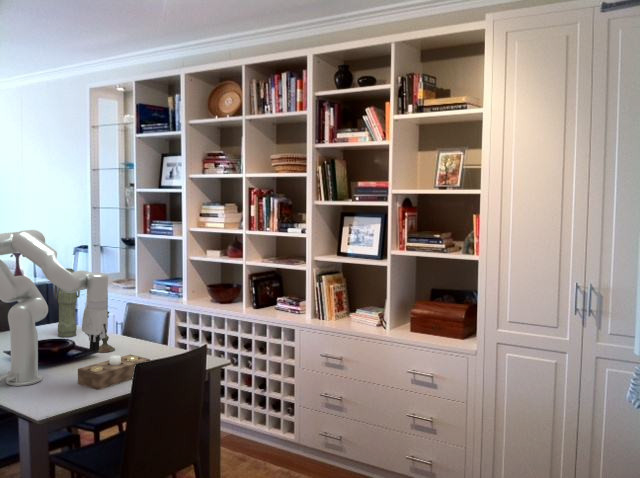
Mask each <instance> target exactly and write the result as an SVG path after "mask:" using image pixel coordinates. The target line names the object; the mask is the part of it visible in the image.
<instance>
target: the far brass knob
mask: <svg viewBox="0 0 640 478" xmlns="http://www.w3.org/2000/svg"><path fill="white" fill-rule="evenodd" d="M127 360H129V361H135V360H138V355H135V356H129V357H127Z"/></svg>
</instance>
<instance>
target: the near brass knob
mask: <svg viewBox="0 0 640 478" xmlns="http://www.w3.org/2000/svg"><path fill="white" fill-rule="evenodd" d="M100 370H103V367H102V366H93V367H91V371H94V372H97V371H100Z"/></svg>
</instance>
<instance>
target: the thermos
mask: <svg viewBox="0 0 640 478" xmlns="http://www.w3.org/2000/svg"><path fill="white" fill-rule="evenodd" d="M66 269H67V270H68V271H69V272H71V273H73V272H75V269H73V268H69V267H67V268H66ZM58 288H59V287H57V286H56V285H54V297H55V299H57V303H58V323H57V333H58V335H57V337H58V338H65V339H66V338H67V339H68V338H73V337H76V336H77V328H78V325H77V322H76V306H77V305H76V304H77V299H78V298H80V294H81V293H80V292H81V290H80V291H77V292H74V293H68V292H65V291H63V290H61V289H60V288H59V289H58Z"/></svg>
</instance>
